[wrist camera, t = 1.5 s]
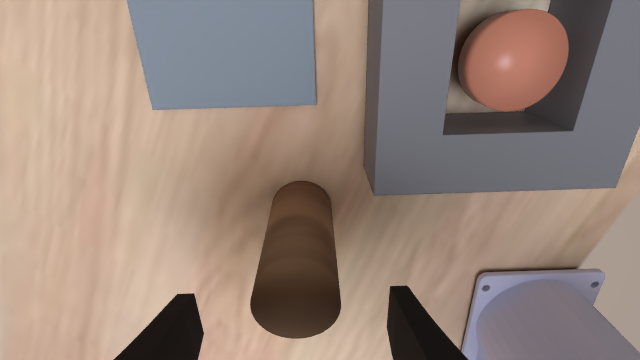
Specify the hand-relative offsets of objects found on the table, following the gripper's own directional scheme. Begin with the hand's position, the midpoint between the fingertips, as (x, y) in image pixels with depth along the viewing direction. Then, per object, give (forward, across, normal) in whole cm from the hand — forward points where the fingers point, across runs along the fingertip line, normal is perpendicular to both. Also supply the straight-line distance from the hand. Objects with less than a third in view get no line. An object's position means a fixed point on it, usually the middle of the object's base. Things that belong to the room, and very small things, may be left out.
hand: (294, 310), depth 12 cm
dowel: (+8, 0, 0) cm, 8 cm away
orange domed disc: (+6, -9, -8) cm, 13 cm away
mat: (+8, +3, -10) cm, 13 cm away
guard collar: (+8, -9, -8) cm, 14 cm away
